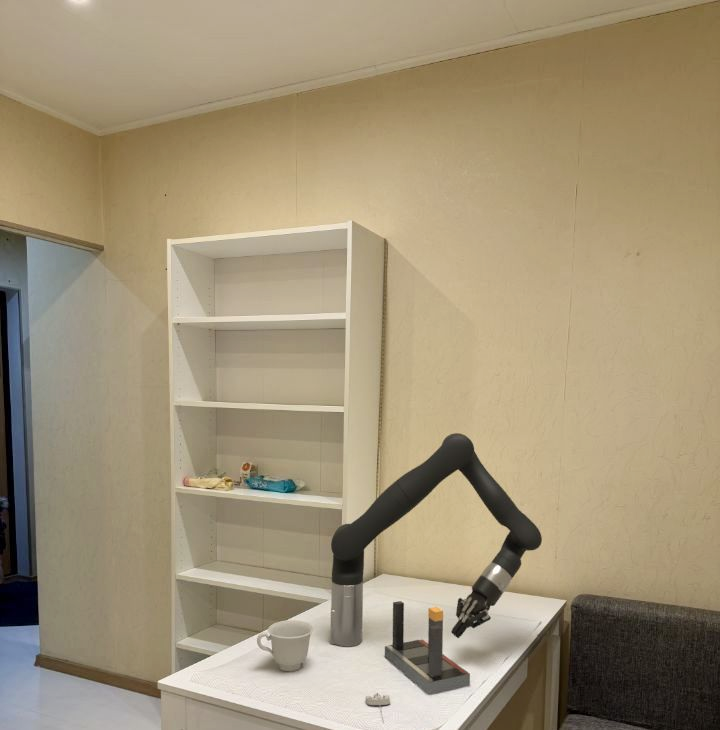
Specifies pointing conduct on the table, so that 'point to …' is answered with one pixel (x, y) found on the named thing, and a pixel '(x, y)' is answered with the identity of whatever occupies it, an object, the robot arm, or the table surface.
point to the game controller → (378, 700)
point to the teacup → (288, 643)
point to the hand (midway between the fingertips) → (454, 635)
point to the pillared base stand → (424, 658)
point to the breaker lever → (435, 622)
